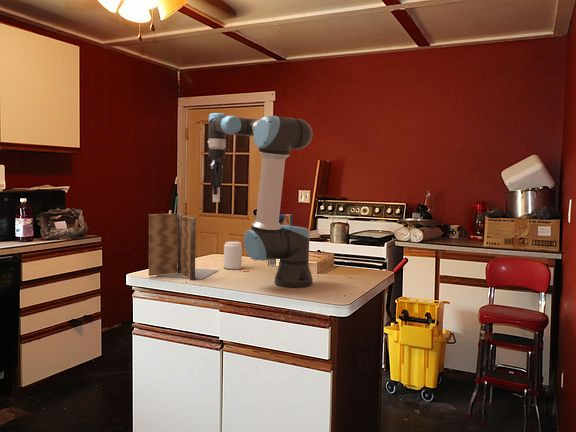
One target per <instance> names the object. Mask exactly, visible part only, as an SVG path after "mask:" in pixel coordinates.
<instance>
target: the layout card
mask: <svg viewBox="0 0 576 432" xmlns="http://www.w3.org/2000/svg"><path fill="white" fill-rule="evenodd" d="M217 272H219V269H207V268H206V269H205V268H195V280H204V279H206V278H208V277H210V276H212V275H214V274H216V273H217ZM155 276H156V277H160V278H173V279H175V278H176V279H189V278H188V277H187V276H185V275H182V274H181V273H171V274H162V275H155ZM189 280H190V279H189Z"/></svg>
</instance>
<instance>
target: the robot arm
mask: <svg viewBox="0 0 576 432" xmlns="http://www.w3.org/2000/svg"><path fill="white" fill-rule="evenodd" d="M207 123H208V140H207V144H208V151H207V152H208V153H207V155H208V158H209V159H210V158H211V162H210V163H209V165H208V166H209V174H210V175H209V176H210V187H211V188H212V203H220V202H221V199H220V198H221V188H223V176H224V167H225V165H224V164H223V162H222V161H223V160H222V159H225V158H226V147H227V146H226V144H227V143H226V135H230V136H231V135H234V136H248V137H253V142H254V145H255V146H256V147H257V148H258V153H259V154H260V156H261V163H260V164H261V166H260V175H259V176H260V177H259V187H258V188H259V189H258V196H257V206H256V207H257V209H256V216H255V217H256V218H255V220H253V222H252V223H251V227H250V228H251V229H248V230H247V231H246V232H245V233H244V236H243V245H244V250H245V252H246V254H247V256H248V257H249V258H250V259H252V260H253V261H261V262H262V261H263V262H264V261H268V260H273V259H280V262H279V267H277V269H276V273H275V276H274V284H275V285H277V286H280V287H286V288H306V287H310V286H312V285H313V275H312V272H311V269H310V264H309V262H310V261H309V259H310V240H311V238H310V230H309V229H308V228H306V227H302V226H296V225H292V226H289V225H280V223H279V214H281V213H280V211H281V203H282V193H283V185H284V184H283V183H284V175H285V165H286V159H287V158H289V157H290V155H291V151H292V150H295V151H296V150H302V149H304V148H306V147H307V146H309V145H310V143H311V142H312V139H313V129H312V126H311V125H310V124H309V123H308V121H306V120H304V119H301V118H296V117H295V118H294V117H287V116H278V115H265V116H262V117H261V118H248V117H247V118H246V117H239V116H235V115H226V114H225V113H221V112H220V113H219V112H213V113H210V114H209V115H208V122H207Z"/></svg>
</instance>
